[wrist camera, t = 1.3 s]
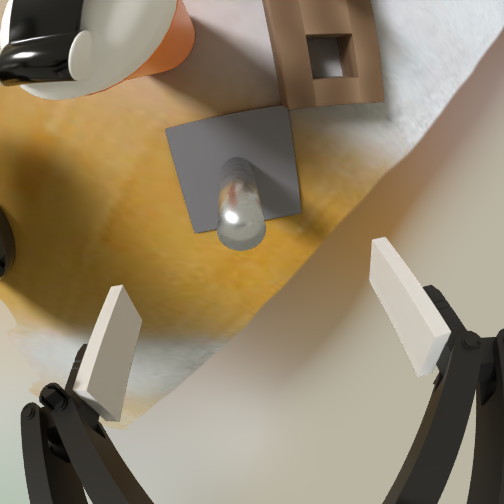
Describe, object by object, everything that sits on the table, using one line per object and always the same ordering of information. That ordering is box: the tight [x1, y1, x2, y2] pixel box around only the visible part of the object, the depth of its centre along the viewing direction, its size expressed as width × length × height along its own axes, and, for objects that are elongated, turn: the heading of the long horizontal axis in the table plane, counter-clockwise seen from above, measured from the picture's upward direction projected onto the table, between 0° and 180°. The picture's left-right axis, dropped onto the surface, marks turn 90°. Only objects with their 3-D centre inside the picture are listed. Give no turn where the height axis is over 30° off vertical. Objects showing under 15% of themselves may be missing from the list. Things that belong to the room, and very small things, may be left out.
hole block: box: [262, 0, 384, 110], centre depth 20 cm, size 9×18×4 cm, turn 10°
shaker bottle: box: [0, 0, 195, 100], centre depth 14 cm, size 9×9×20 cm
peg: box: [217, 157, 266, 251], centre depth 25 cm, size 3×3×12 cm
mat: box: [165, 105, 301, 233], centre depth 30 cm, size 12×12×1 cm
